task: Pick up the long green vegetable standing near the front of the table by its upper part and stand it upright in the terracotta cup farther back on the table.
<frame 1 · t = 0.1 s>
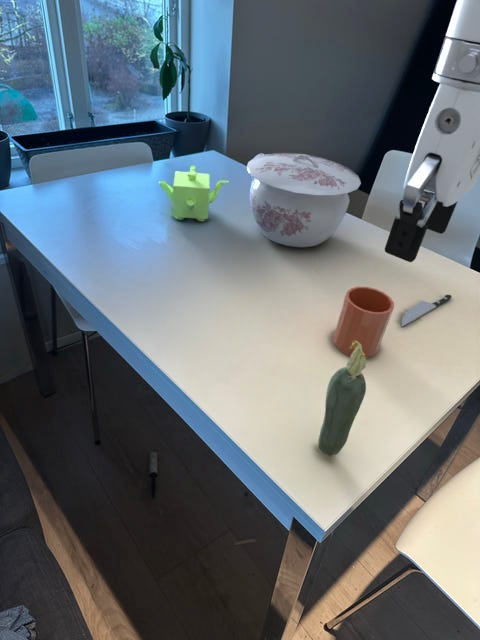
hand: (415, 241, 50), 30 cm above the table, tool pointing down, fingers open, 9 cm apart
vegetable: (323, 456, 62), on the table
kettle: (192, 214, 121), on the table
cup: (355, 343, 83), on the table
chef's knife: (421, 309, 95), on the table
chamber pot: (291, 235, 117), on the table
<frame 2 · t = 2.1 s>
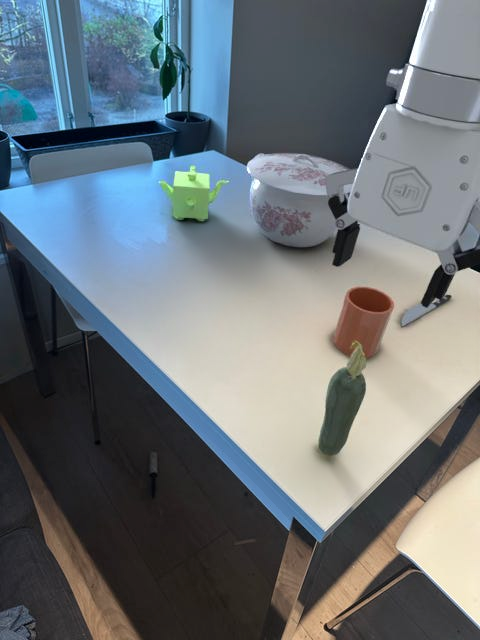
hand: (383, 280, 46), 29 cm above the table, tool pointing down, fingers open, 9 cm apart
nothing on the table moved.
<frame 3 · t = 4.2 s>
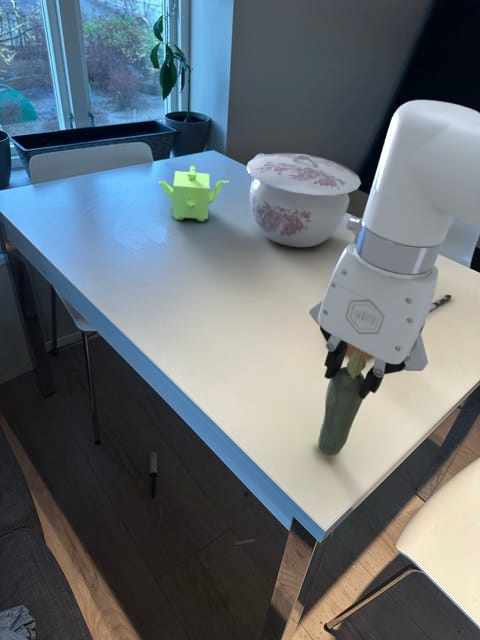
hand: (349, 381, 53), 15 cm above the table, tool pointing down, fingers closed on vegetable, 3 cm apart
vegetable: (323, 456, 62), on the table, touching gripper
everything else where it was.
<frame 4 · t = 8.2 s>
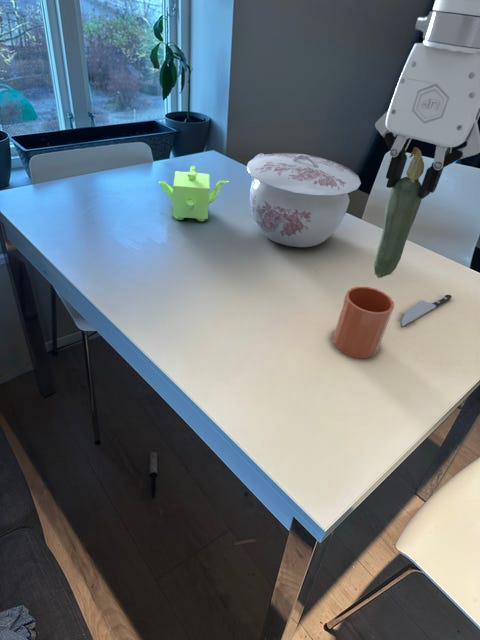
hand: (408, 189, 62), 31 cm above the table, tool pointing down, fingers closed on vegetable, 3 cm apart
vegetable: (377, 280, 71), point 16 cm above the table, touching gripper
everything else where it was.
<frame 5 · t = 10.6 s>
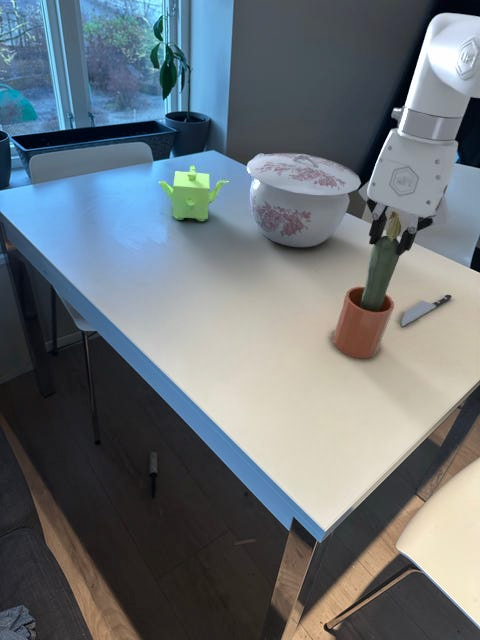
hand: (388, 246, 71), 20 cm above the table, tool pointing down, fingers closed on vegetable, 3 cm apart
vegetable: (363, 320, 80), point 5 cm above the table, touching gripper
everything else where it was.
when the fingers open (15 cm above the table, at t = 12.2 s): vegetable stays where it is, resting on cup.
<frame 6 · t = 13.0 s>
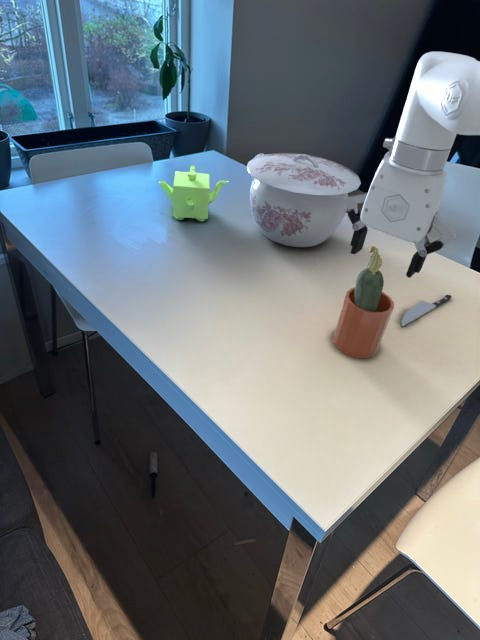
hand: (382, 262, 73), 17 cm above the table, tool pointing down, fingers open, 9 cm apart
vegetable: (356, 341, 83), point 1 cm above the table, touching cup
everything else where it was.
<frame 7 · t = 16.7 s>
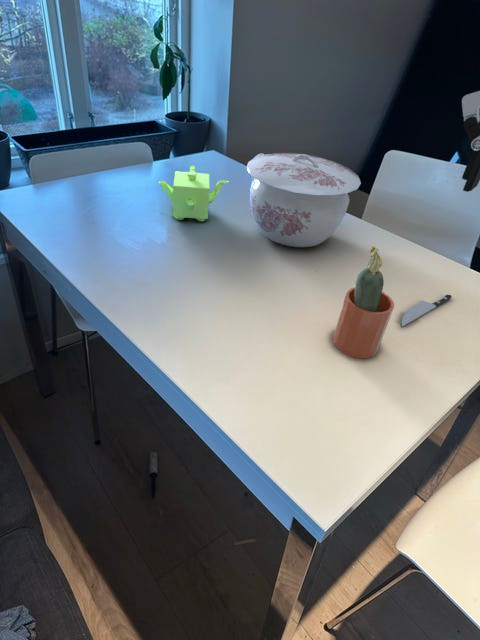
nothing on the table moved.
at the end: vegetable 0.2 cm off-centre in the cup, point 0.6 cm above the cup's base; vegetable tilted 9°; the gripper is holding nothing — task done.
